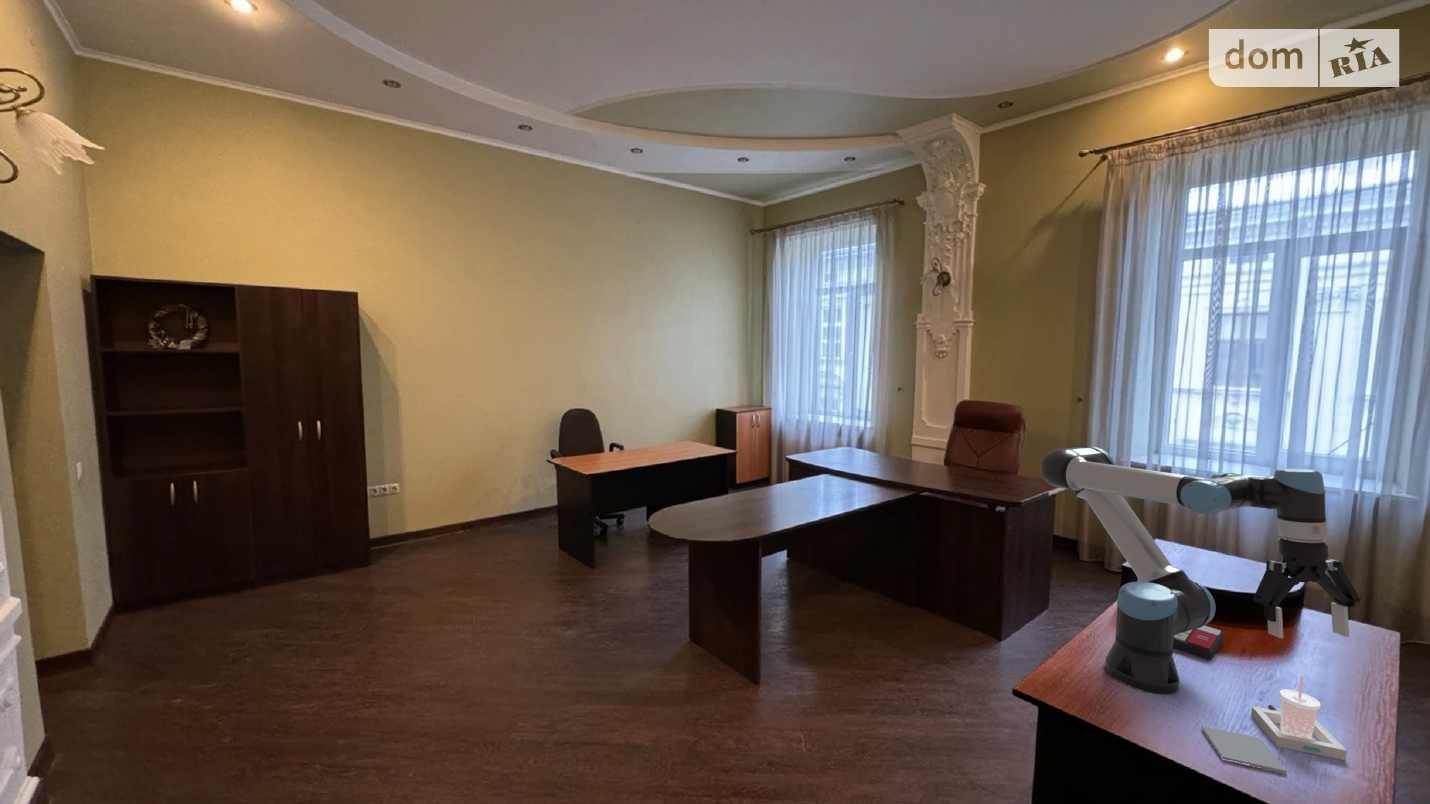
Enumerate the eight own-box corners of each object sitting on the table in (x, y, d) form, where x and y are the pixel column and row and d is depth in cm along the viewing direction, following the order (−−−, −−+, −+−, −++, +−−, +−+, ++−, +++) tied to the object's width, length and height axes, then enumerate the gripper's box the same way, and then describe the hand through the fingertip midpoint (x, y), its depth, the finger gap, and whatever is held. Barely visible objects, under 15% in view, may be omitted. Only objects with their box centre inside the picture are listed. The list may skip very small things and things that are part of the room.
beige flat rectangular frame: (1277, 747, 118) (1278, 737, 117) (1241, 703, 132) (1242, 694, 132) (1346, 761, 114) (1348, 751, 113) (1301, 714, 128) (1302, 705, 128)
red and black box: (1160, 633, 158) (1175, 614, 168) (1159, 647, 159) (1174, 628, 168) (1211, 649, 150) (1223, 629, 159) (1210, 664, 150) (1222, 643, 159)
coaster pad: (1222, 760, 114) (1222, 756, 114) (1201, 729, 123) (1201, 726, 123) (1286, 774, 110) (1286, 770, 110) (1260, 741, 119) (1260, 738, 119)
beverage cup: (1323, 749, 117) (1330, 687, 116) (1285, 742, 119) (1292, 680, 118) (1305, 731, 123) (1312, 671, 121) (1269, 724, 125) (1275, 665, 123)
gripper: (1258, 544, 120) (1264, 643, 120) (1381, 541, 119) (1387, 640, 118) (1228, 536, 128) (1234, 629, 127) (1344, 533, 126) (1349, 627, 126)
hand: (1308, 635), depth 123 cm, fingers open, 13 cm apart
